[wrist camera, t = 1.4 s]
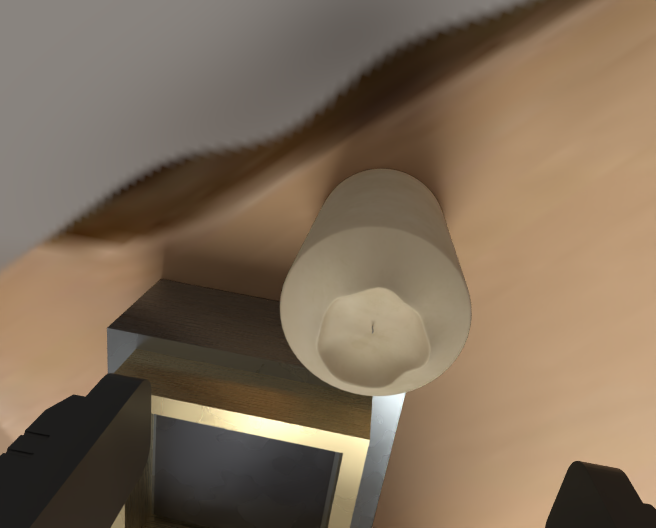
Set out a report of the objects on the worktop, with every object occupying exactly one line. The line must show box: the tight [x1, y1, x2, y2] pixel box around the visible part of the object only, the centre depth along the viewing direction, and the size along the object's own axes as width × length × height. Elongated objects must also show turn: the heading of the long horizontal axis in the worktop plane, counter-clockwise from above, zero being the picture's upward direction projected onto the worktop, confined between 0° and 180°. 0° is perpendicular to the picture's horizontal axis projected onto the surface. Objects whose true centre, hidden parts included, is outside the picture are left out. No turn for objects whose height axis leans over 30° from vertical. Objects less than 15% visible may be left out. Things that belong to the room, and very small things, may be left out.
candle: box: [280, 169, 472, 396], centre depth 18 cm, size 6×6×10 cm
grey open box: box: [107, 279, 406, 528], centre depth 23 cm, size 12×11×8 cm
